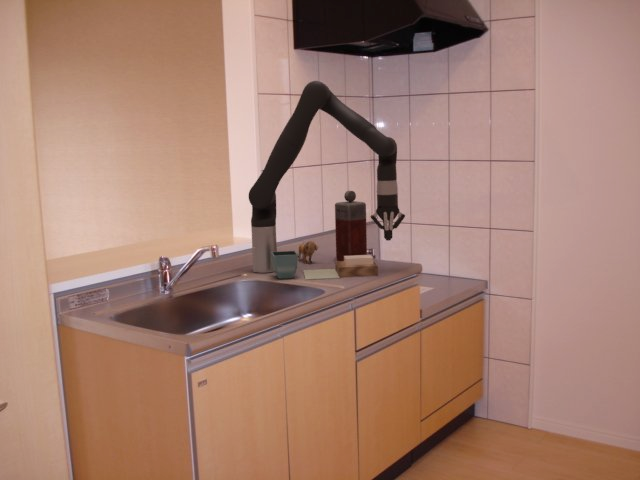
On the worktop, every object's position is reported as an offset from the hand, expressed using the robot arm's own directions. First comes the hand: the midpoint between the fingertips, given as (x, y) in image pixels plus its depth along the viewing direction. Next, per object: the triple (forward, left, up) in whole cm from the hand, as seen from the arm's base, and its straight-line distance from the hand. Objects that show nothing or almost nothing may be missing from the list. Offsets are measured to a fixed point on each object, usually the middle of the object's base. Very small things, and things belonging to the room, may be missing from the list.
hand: (388, 240), depth 263 cm
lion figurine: (-28, +27, -12) cm, 41 cm away
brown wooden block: (-12, 0, -12) cm, 17 cm away
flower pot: (-38, -2, -12) cm, 40 cm away
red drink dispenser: (-11, +26, -12) cm, 31 cm away
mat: (-25, 0, -12) cm, 28 cm away
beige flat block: (-11, 0, -8) cm, 14 cm away
